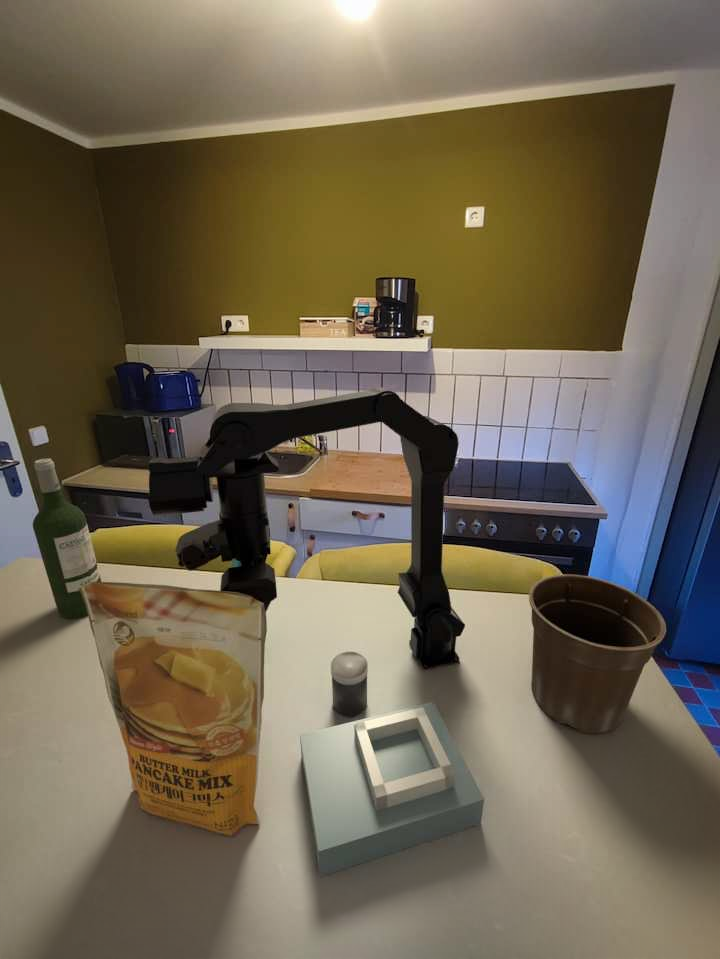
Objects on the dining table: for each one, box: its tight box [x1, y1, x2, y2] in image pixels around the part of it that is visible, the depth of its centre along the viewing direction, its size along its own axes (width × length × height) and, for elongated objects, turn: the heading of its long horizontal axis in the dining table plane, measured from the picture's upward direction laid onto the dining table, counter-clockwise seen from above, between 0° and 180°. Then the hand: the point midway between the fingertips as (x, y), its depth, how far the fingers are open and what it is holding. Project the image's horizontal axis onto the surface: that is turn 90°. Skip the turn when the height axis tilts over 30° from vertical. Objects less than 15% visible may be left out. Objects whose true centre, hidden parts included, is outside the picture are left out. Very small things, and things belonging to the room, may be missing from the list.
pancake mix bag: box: [78, 581, 268, 837], centre depth 45 cm, size 7×19×28 cm, turn 76°
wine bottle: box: [32, 458, 102, 620], centre depth 79 cm, size 8×8×30 cm
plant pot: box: [528, 573, 667, 735], centre depth 60 cm, size 16×16×16 cm
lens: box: [330, 650, 369, 718], centre depth 61 cm, size 5×5×7 cm
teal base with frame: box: [299, 701, 485, 878], centre depth 50 cm, size 18×13×6 cm
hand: (254, 608), depth 60 cm, fingers open, 9 cm apart
